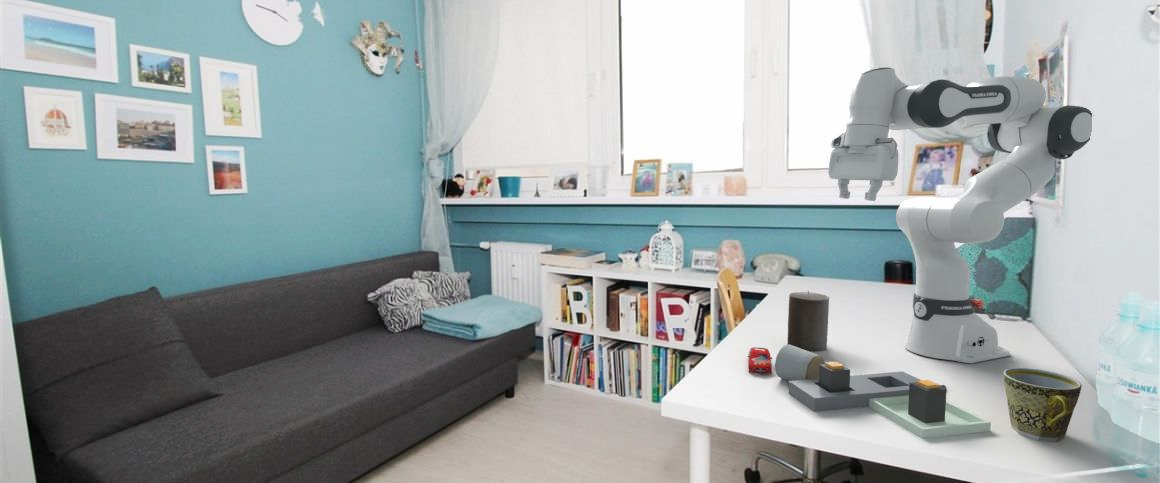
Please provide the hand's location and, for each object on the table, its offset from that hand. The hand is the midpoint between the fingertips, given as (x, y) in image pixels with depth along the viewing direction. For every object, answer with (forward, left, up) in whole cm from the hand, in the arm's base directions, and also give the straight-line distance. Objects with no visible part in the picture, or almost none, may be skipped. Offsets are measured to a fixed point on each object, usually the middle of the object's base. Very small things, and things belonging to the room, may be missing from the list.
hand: (856, 199), depth 127 cm
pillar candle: (+4, -12, -39) cm, 41 cm away
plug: (+8, +32, -38) cm, 51 cm away
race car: (+23, -1, -39) cm, 46 cm away
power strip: (+10, +21, -39) cm, 45 cm away
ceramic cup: (-5, +42, -39) cm, 58 cm away
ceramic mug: (+19, +10, -39) cm, 45 cm away
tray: (+8, +32, -39) cm, 51 cm away
